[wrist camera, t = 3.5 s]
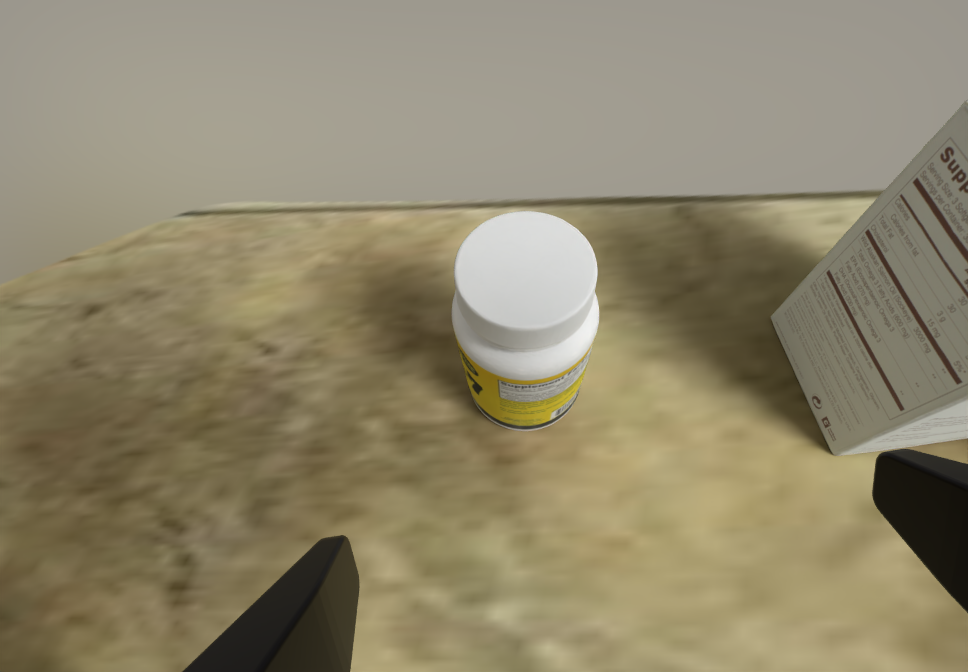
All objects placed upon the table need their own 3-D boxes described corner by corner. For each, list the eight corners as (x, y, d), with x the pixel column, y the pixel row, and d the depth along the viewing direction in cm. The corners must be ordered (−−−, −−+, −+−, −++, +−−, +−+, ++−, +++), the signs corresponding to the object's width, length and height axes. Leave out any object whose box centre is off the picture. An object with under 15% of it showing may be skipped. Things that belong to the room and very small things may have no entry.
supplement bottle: (465, 335, 25) (437, 205, 17) (569, 325, 25) (595, 189, 17) (472, 439, 23) (442, 349, 14) (588, 429, 23) (630, 331, 14)
